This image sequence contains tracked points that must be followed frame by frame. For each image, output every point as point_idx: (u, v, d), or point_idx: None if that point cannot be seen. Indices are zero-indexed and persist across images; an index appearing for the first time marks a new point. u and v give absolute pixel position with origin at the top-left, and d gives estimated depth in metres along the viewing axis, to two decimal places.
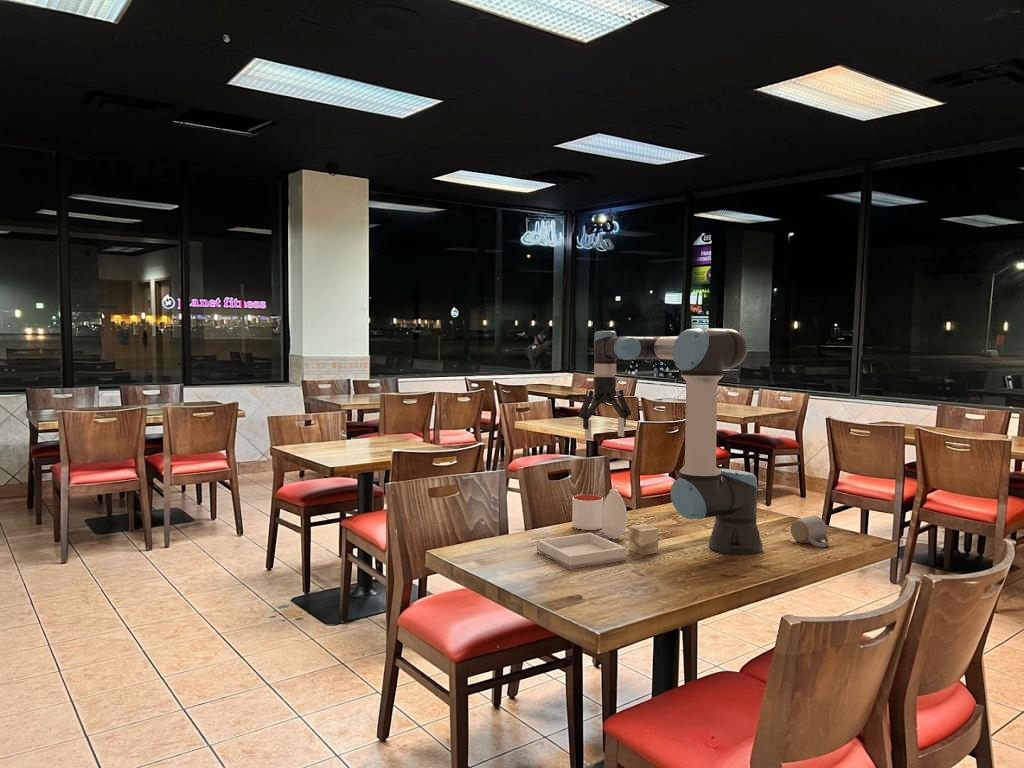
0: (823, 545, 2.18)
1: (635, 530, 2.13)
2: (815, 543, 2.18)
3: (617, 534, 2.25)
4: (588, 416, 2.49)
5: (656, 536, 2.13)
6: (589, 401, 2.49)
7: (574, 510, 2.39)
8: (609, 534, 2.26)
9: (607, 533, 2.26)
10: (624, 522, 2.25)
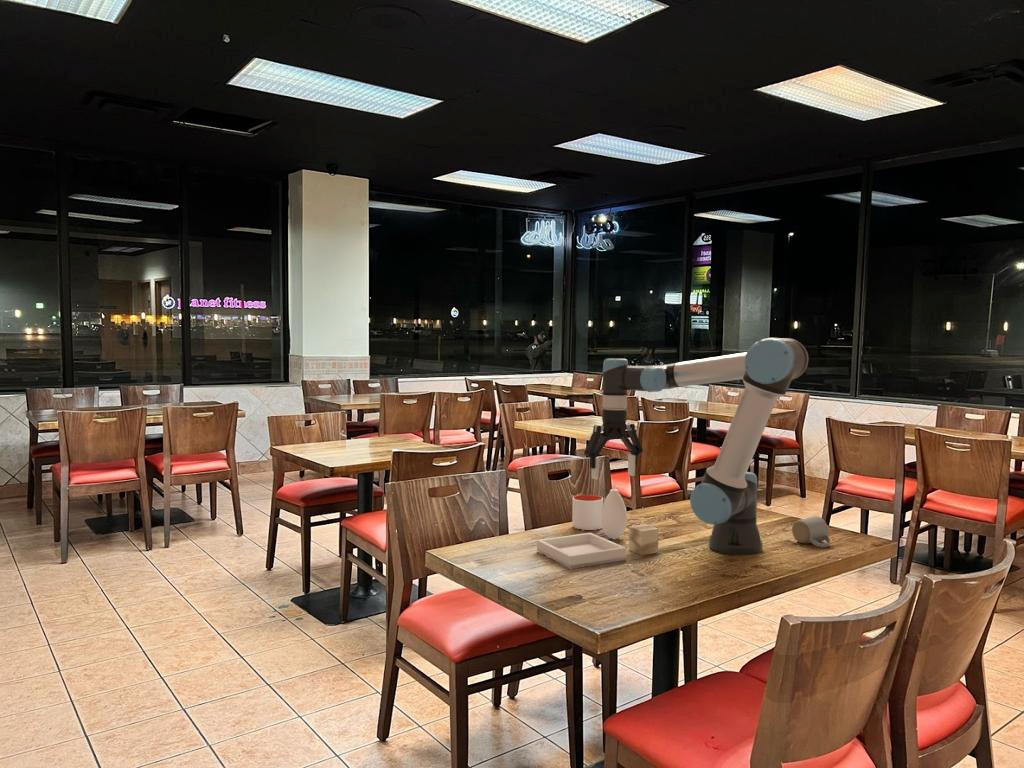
0: (824, 545, 2.18)
1: (635, 530, 2.13)
2: (816, 543, 2.18)
3: (617, 534, 2.25)
4: (595, 454, 2.22)
5: (656, 536, 2.13)
6: (597, 437, 2.22)
7: (574, 510, 2.39)
8: (609, 534, 2.26)
9: (607, 533, 2.26)
10: (624, 522, 2.25)
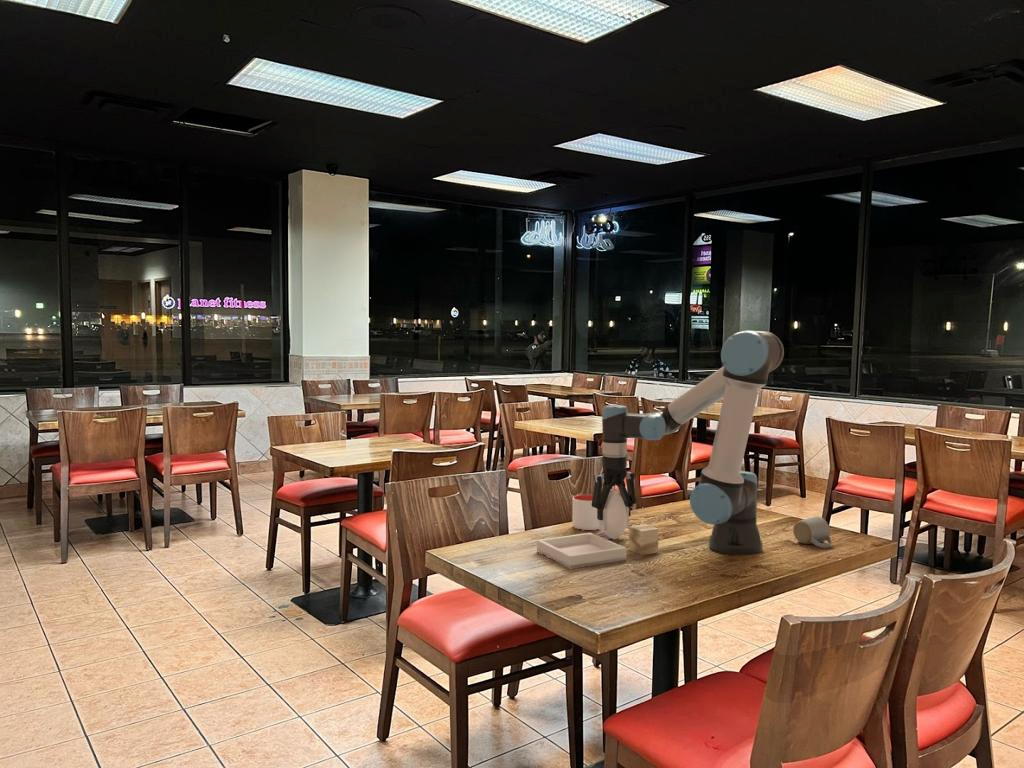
0: (826, 546, 2.17)
1: (635, 530, 2.13)
2: (818, 544, 2.17)
3: (617, 534, 2.25)
4: (602, 506, 2.24)
5: (656, 536, 2.13)
6: (599, 488, 2.23)
7: (574, 510, 2.39)
8: (609, 534, 2.26)
9: (607, 533, 2.26)
10: (624, 522, 2.25)
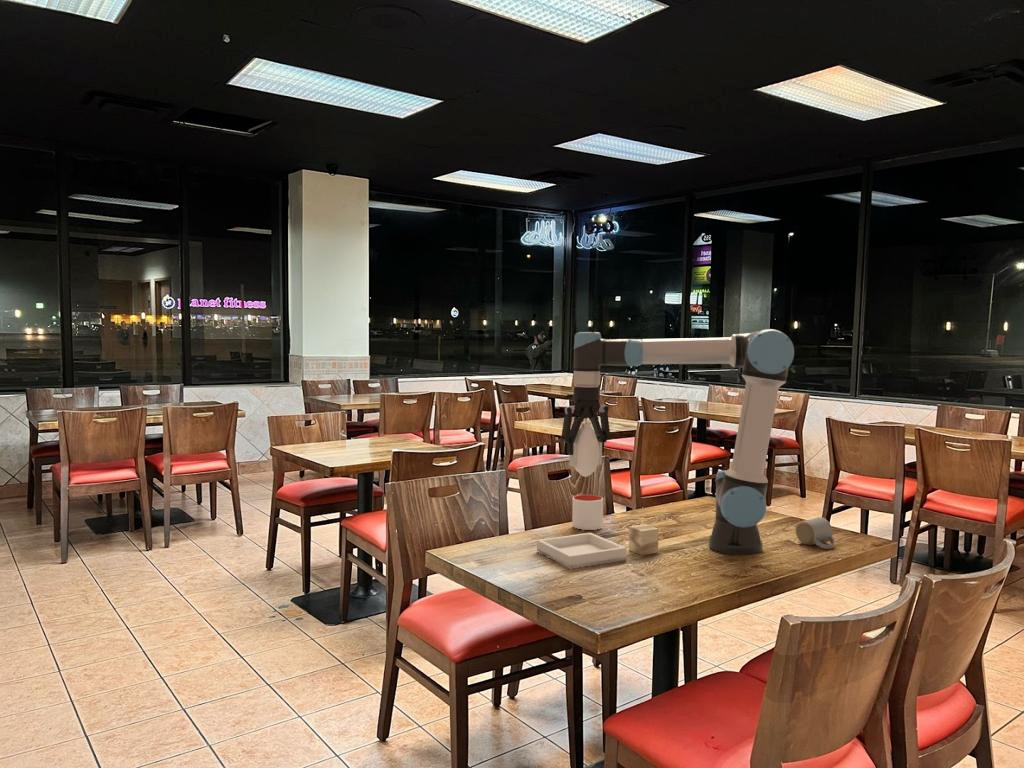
0: (829, 547, 2.16)
1: (635, 530, 2.13)
2: (821, 545, 2.16)
3: (588, 470, 2.09)
4: (572, 439, 2.08)
5: (656, 536, 2.13)
6: (569, 420, 2.07)
7: (574, 510, 2.39)
8: (580, 470, 2.09)
9: (578, 469, 2.10)
10: (596, 457, 2.08)
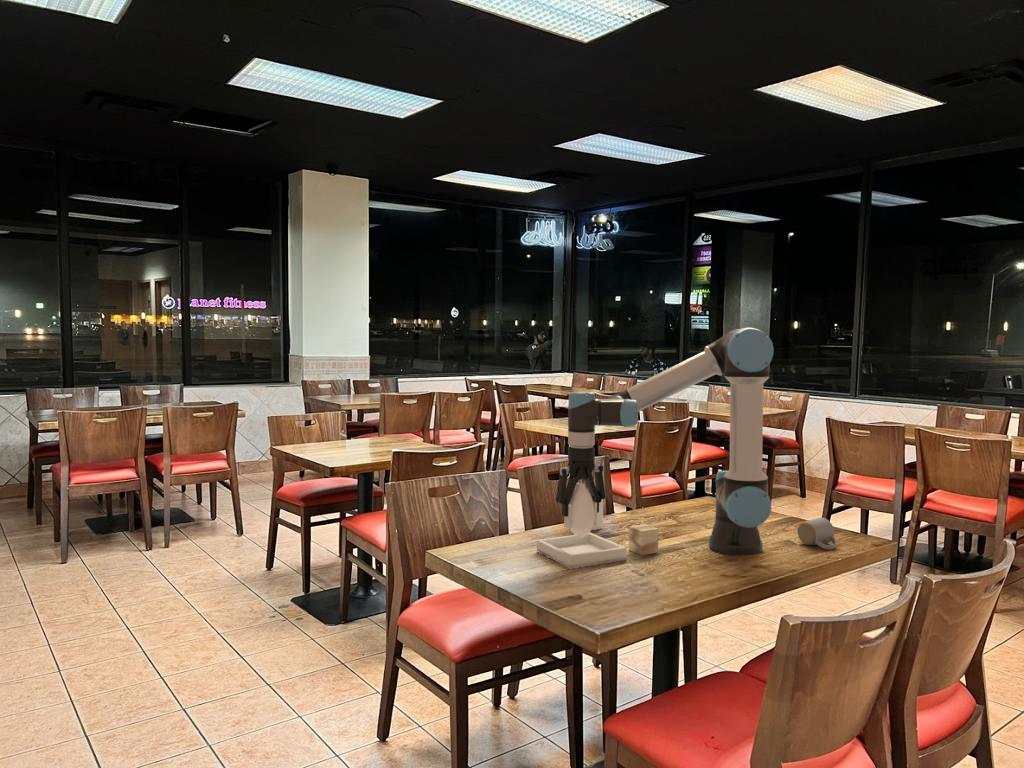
0: (830, 547, 2.16)
1: (635, 530, 2.13)
2: (822, 545, 2.16)
3: (583, 532, 2.06)
4: (567, 501, 2.05)
5: (656, 536, 2.13)
6: (564, 482, 2.05)
7: None
8: (575, 532, 2.07)
9: (573, 531, 2.07)
10: (591, 519, 2.06)
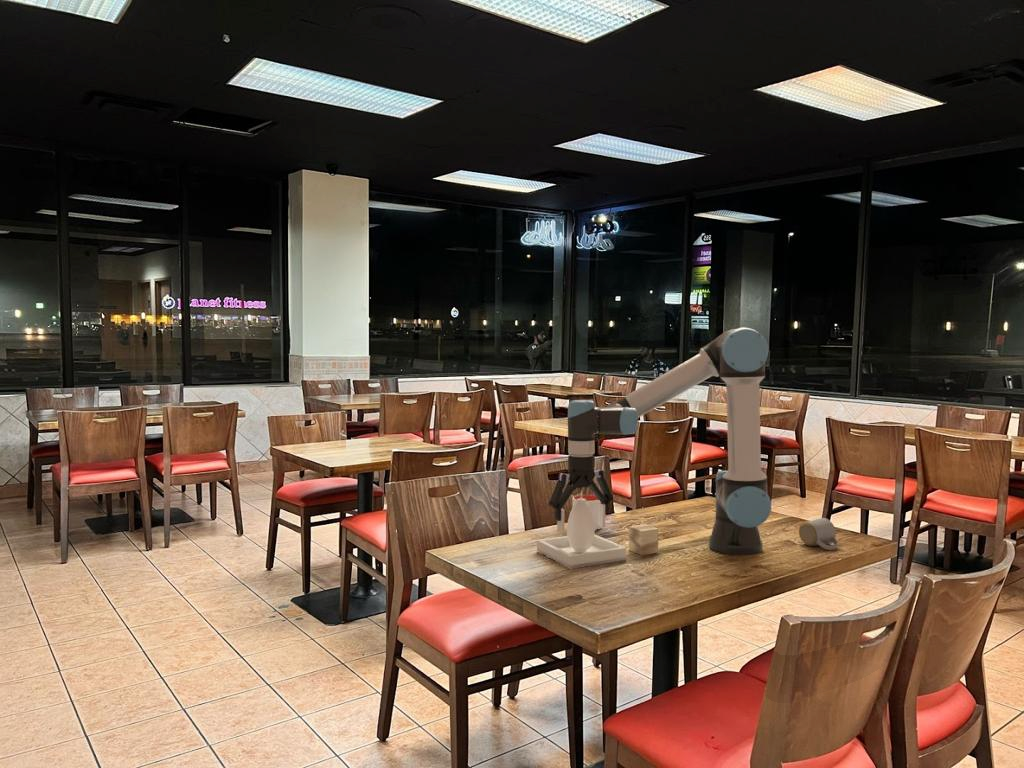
0: (832, 548, 2.15)
1: (635, 530, 2.13)
2: (824, 546, 2.15)
3: (583, 548, 2.07)
4: (561, 505, 2.04)
5: (656, 536, 2.13)
6: (562, 487, 2.04)
7: None
8: (575, 547, 2.07)
9: (573, 546, 2.08)
10: (591, 535, 2.07)
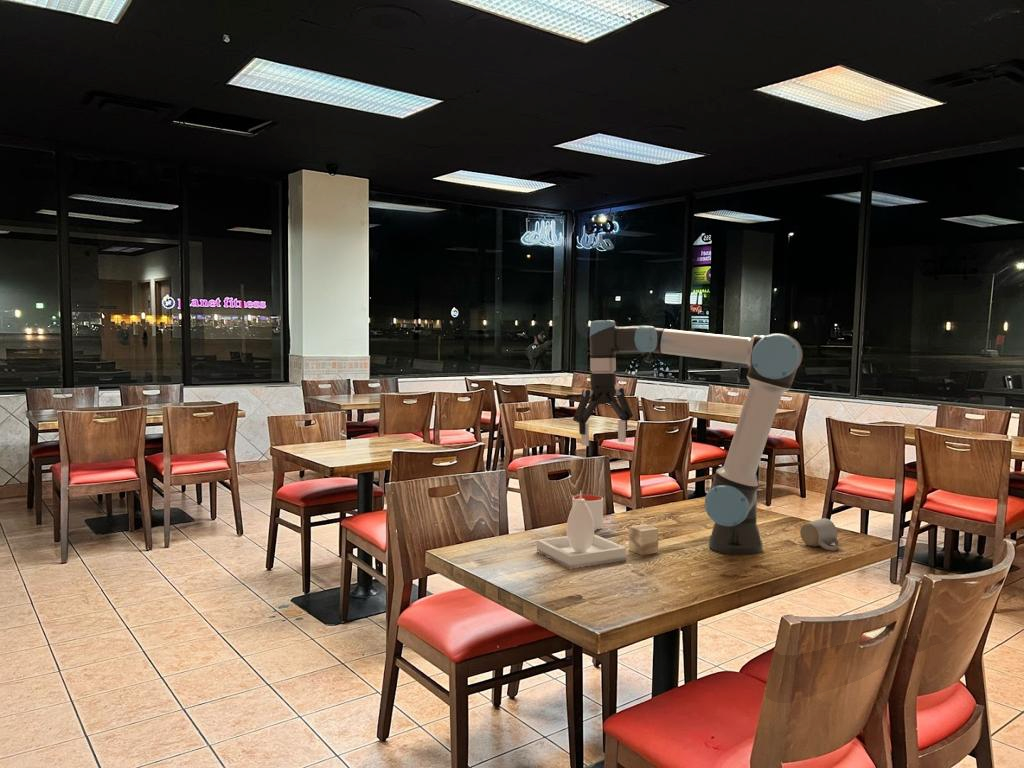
0: (833, 548, 2.15)
1: (635, 530, 2.13)
2: (825, 546, 2.15)
3: (583, 548, 2.07)
4: (585, 419, 2.14)
5: (656, 536, 2.13)
6: (586, 402, 2.14)
7: None
8: (575, 548, 2.07)
9: (573, 546, 2.08)
10: (591, 535, 2.07)
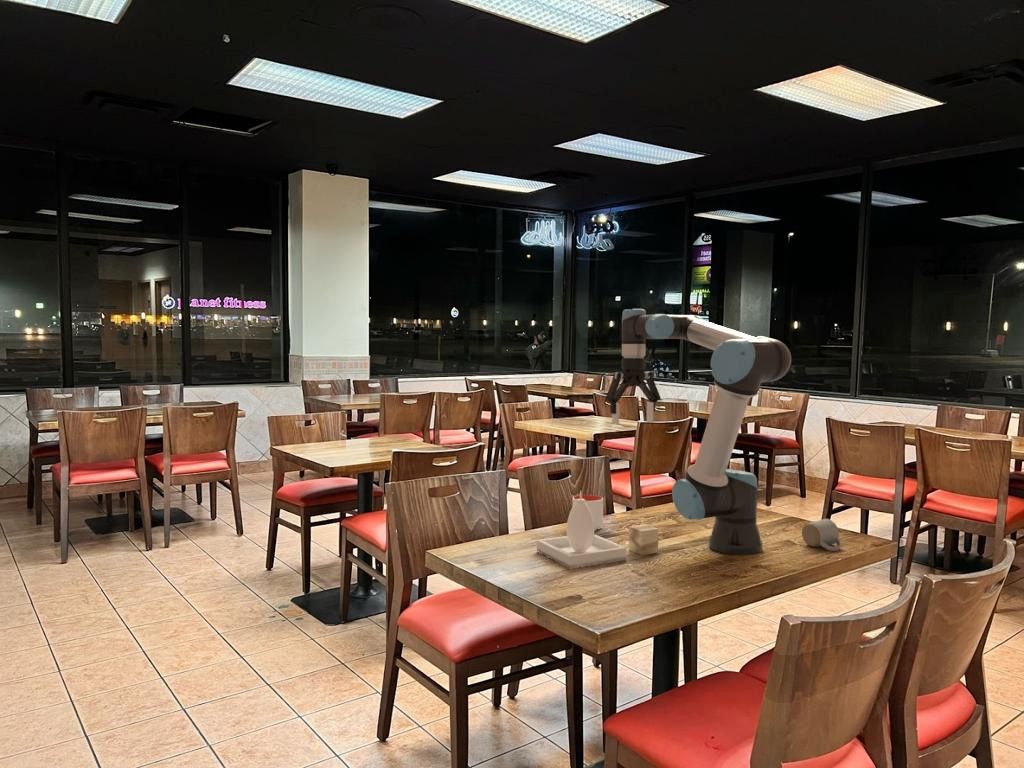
0: (835, 549, 2.14)
1: (635, 530, 2.13)
2: (827, 547, 2.14)
3: (583, 548, 2.07)
4: (616, 400, 2.33)
5: (656, 536, 2.13)
6: (617, 384, 2.33)
7: None
8: (575, 548, 2.07)
9: (573, 547, 2.08)
10: (591, 535, 2.07)
